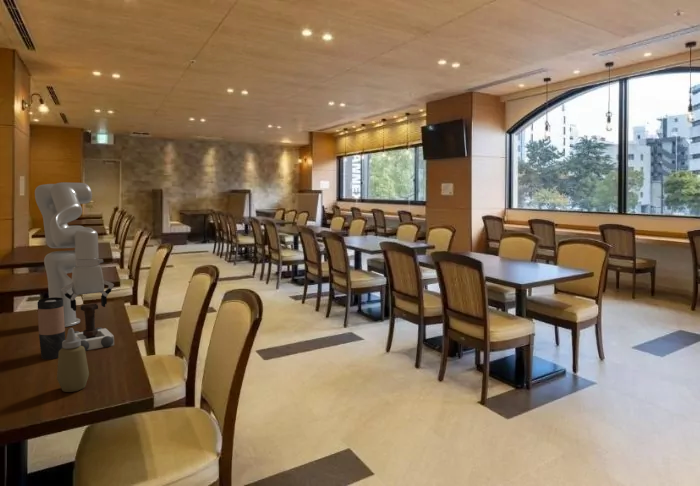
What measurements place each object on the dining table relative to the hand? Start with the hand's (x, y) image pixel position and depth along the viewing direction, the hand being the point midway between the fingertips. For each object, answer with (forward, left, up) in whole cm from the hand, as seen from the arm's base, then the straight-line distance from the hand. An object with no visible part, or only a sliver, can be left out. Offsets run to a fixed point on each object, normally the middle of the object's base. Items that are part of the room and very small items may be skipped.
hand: (89, 308), depth 175 cm
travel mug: (+6, -13, -14) cm, 20 cm away
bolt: (0, 0, -14) cm, 14 cm away
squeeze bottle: (+41, -12, -14) cm, 45 cm away
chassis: (0, 0, -14) cm, 14 cm away
